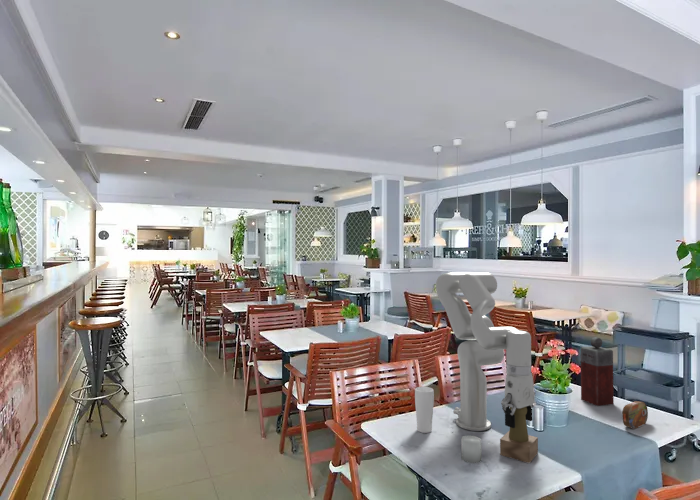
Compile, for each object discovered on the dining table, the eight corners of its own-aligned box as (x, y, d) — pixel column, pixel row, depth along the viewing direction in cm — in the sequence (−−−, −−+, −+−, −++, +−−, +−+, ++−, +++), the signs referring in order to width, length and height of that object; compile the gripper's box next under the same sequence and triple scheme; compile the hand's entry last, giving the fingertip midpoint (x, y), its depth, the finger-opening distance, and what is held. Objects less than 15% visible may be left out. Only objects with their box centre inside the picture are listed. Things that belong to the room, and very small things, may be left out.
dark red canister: (592, 396, 196) (592, 334, 197) (613, 404, 186) (613, 338, 186) (576, 397, 194) (576, 335, 195) (597, 406, 183) (596, 340, 184)
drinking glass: (425, 436, 152) (425, 393, 152) (411, 430, 157) (411, 388, 157) (437, 431, 156) (437, 389, 156) (423, 425, 161) (423, 385, 162)
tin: (629, 431, 157) (629, 407, 157) (620, 428, 159) (620, 405, 159) (648, 422, 165) (648, 400, 165) (639, 420, 167) (639, 398, 168)
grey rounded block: (457, 457, 135) (457, 438, 136) (469, 452, 139) (469, 433, 139) (473, 465, 131) (472, 445, 131) (485, 459, 134) (485, 440, 134)
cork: (530, 443, 134) (529, 407, 135) (509, 441, 136) (509, 406, 136) (527, 435, 140) (527, 401, 140) (507, 433, 142) (507, 399, 142)
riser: (500, 454, 137) (500, 439, 137) (509, 445, 144) (509, 430, 144) (529, 463, 132) (529, 446, 132) (537, 453, 139) (537, 437, 139)
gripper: (513, 376, 130) (513, 433, 130) (544, 368, 141) (544, 420, 140) (492, 371, 136) (492, 425, 136) (523, 363, 147) (523, 414, 146)
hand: (518, 423), depth 138 cm, fingers open, 9 cm apart
